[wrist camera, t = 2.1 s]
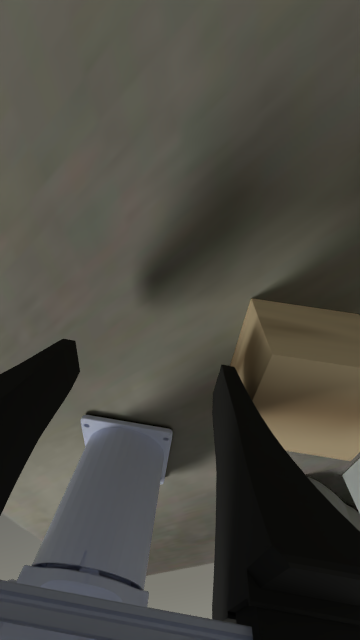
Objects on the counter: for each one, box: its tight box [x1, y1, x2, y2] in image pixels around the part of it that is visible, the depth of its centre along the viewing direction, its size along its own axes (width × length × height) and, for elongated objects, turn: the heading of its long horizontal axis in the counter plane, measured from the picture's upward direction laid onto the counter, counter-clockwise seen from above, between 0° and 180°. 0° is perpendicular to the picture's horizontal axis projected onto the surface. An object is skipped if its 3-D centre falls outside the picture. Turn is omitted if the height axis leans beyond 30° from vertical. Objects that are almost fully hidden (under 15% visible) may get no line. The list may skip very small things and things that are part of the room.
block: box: [230, 298, 360, 461], centre depth 12 cm, size 6×6×5 cm
